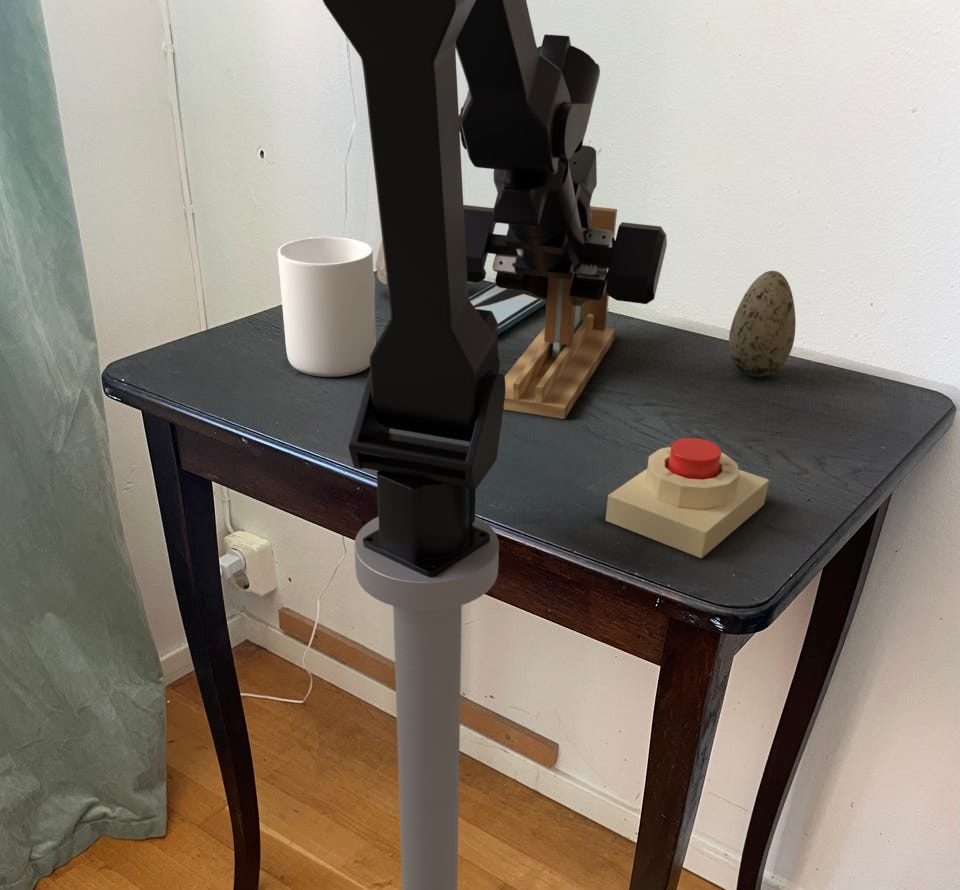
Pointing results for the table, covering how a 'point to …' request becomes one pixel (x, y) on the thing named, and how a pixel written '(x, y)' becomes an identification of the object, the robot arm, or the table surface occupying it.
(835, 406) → the table surface
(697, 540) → the control block
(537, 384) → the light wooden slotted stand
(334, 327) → the mug
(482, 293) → the smartphone
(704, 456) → the button
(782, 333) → the decorative egg
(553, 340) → the sash
